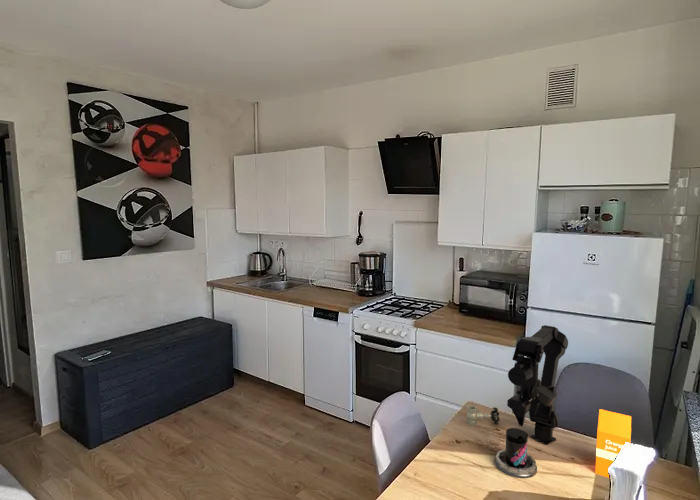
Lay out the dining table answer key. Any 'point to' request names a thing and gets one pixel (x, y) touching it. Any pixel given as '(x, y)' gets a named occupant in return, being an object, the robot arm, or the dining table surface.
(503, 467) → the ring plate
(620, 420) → the orange juice
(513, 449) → the supplement container
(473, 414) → the valve
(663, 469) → the dining table surface
